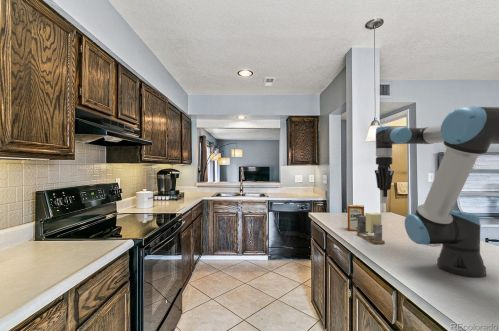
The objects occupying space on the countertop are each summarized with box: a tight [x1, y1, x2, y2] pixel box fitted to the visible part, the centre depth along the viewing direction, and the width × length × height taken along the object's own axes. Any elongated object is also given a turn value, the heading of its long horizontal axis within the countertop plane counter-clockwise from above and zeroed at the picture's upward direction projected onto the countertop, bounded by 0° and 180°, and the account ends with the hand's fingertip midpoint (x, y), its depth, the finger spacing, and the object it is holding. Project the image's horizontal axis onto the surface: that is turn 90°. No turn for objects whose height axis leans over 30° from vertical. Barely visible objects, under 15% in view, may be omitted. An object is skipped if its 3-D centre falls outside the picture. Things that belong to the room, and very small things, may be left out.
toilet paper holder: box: [356, 215, 386, 245], centre depth 145 cm, size 18×6×12 cm, turn 5°
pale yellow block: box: [365, 212, 382, 234], centre depth 141 cm, size 5×6×10 cm
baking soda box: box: [347, 204, 365, 233], centre depth 165 cm, size 10×6×16 cm
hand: (383, 203), depth 132 cm, fingers closed
